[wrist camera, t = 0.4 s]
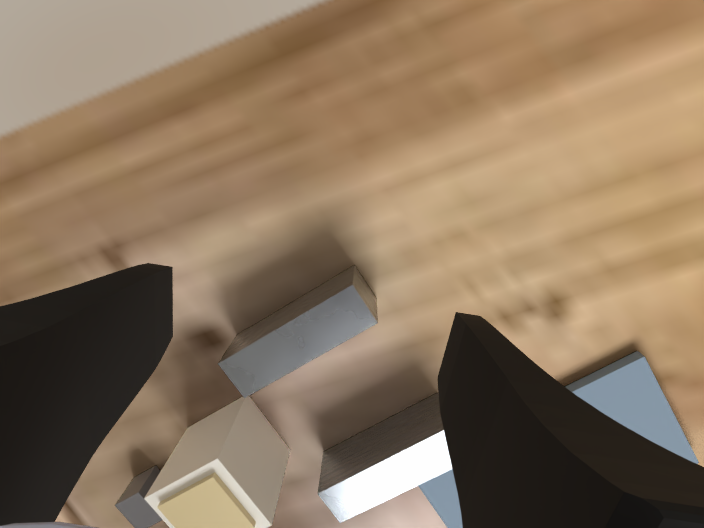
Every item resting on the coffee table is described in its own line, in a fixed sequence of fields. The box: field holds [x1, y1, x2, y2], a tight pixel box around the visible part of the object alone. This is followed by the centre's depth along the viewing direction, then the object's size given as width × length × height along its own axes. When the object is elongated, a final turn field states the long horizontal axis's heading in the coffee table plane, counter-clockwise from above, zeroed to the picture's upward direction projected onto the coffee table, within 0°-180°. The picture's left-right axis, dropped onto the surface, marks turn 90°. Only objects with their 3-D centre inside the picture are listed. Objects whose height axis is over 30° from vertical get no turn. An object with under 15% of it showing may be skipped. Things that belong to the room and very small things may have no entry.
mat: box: [418, 351, 699, 528], centre depth 24 cm, size 13×7×1 cm, turn 122°
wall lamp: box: [115, 396, 290, 528], centre depth 23 cm, size 9×4×5 cm, turn 122°
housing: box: [218, 265, 452, 523], centre depth 22 cm, size 7×10×3 cm
